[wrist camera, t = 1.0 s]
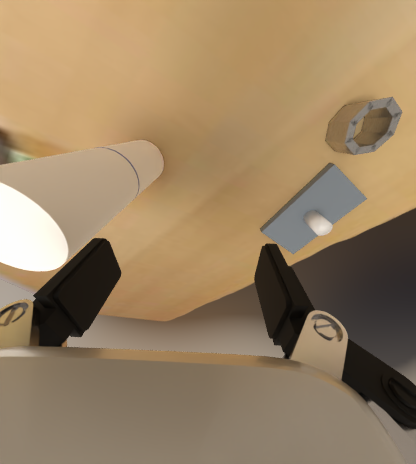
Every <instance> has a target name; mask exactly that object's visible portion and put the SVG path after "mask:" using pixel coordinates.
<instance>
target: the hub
mask: <svg viewBox="0 0 416 464" xmlns="http://www.w3.org/2000/svg"><path fill="white" fill-rule="evenodd" d="M401 114H402V110H401V109H400V107H399V106H398V104H397V103H396V101H395V100H394V98H393V97H389V98H383V99H377V100H371V101H365V102H360V103H355V104H350V105H345V106H344V107H343V108H342V109H341V110H340V111H339V112H338V113H337V114H336V115H335V116H334V117H333V118H332V120H331V121H330V122H329V124H328V129H327V135H326V140H325V141H326V142H327V143H328V144H329V145H330V146H331V148H332V149H333V150H334V151H338V152H343V153H347V154H352V155H357V154H363V153H369V152H374V151H375V150H377V149H378V148H379V147H380V146H381V145H382V144H384V143H385V142H386V141H387V140H388V139H389V138H390V137H392V136H393V135H394V132H395V130H396V127H397V125H398V122H399V119H400V117H401ZM363 117H364V118H365V119H364V123H363V126H362V130H361V132H360V133H359V134H358V135H357V136H356V137H355V138H354V139H353V136H354V132H355V128H356V124H357V123H358V122H359V121H360V120H361V119H362V118H363Z"/></svg>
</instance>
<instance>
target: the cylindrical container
mask: <svg viewBox="0 0 416 464" xmlns="http://www.w3.org/2000/svg"><path fill="white" fill-rule="evenodd" d="M163 168H164V160H163V156H162V154H161V152H160V150H159V149H158V148H157V147H156V146H155V145H154V144H152V143H151V142H149V141H146V140H136V141H131V142H125V143H120V144H114V145H109V146H103V147H97V148H92V149H86V150H81V151H76V152H70V153H65V154H59V155H54V156H48V157H43V158H37V159H32V160H26V161H21V162H15V163H9V164H4V165H0V262H2V263H4V264H7V265H10V266H13V267H16V268H20V269H24V270H31V271H49V270H54V269H56V268H58V267H60V266H61V265H62V264H64V263H65V262H66V261H67V260H68V259H69V258H70V257H71V256H72V255H74V254H75V253H76V252H77V251H78V250H79V249H80V248H81V247H82V246H83V245H84V244H86V243H87V242H88V241H89V240H90V239H91V238H92V237H93V236H94V235H95V234H97V233H98V232H99V231H100V230H101V229H102V228H103V227H104V226H105V225H106V224H107V223H109V222H110V221H111V220H112V219H113V218H114V217H115V216H116V215H117V214H118V213H119V212H121V211H122V210H123V209H124V208H125V207H126V206H127V205H128V204H129V203H130V202H131V201H133V200H134V199H135V198H136V197H137V196H138V195H139V194H140V193H141V192H142V191H143V190H145V189H146V188H147V187H148V186H149V185H150V184H151V183H152V182H153V181H154V180H155V179H157V178H158V177H159V176H160V175H161V173H162V171H163Z"/></svg>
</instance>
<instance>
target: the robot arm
mask: <svg viewBox="0 0 416 464" xmlns="http://www.w3.org/2000/svg"><path fill="white" fill-rule="evenodd" d="M120 277H121V270H120V267H119V265H118V262H117V260H116V257H115V255H114V252H113V250H112V247H111V245H110V242H109V241H107V240H106V239H104V238H94V239H92V240H91V241H90V242H89V243H88V244H87V245H86V246H85V247H84V248H83V249H82V250H81V251H80V252H79V253H78V254H77V255H76V256H75V257H73V258H72V259H71V260H70V261H69V262H68V263H67V264H66V265H65V266H64V267H63V268H62V269H61V270H60V271H59V272H58V273H57V274H56V275H54V276H53V277H52V278H51V279H50V280H49V281H48V282H47V283H46V284H45V285H44V286H43V287H42V288H41V289H40V290H39V291H38V292H37V293H35V294H34V295H33V296H34V297H35V298H36V299H35V300H34V301H33V302H32V301H31V300H27V299H24V300H19V301H16V302H13V303H11V304H8V305H6V306H5V307H3V308H1V309H0V464H416V386H415V385H414V384H413V383H412V382H411V381H410V380H409V379H407V378H406V377H405V376H403V375H402V374H400V373H399V372H397V371H396V370H394V369H393V368H391V367H390V366H388V365H387V364H385V363H384V362H382V361H381V360H379V359H378V358H376V357H375V356H373V355H372V354H370V353H369V352H367V351H366V350H364V349H363V348H361V347H360V346H358V345H357V344H355V343H354V342H352V341H351V340H350V339H348V336H347V332H346V330H345V328H344V327H343V326H342V324H341V323H340V322H339V321H338V320H337V319H336V318H334V317H333V316H332V315H330V314H328V313H326V312H323V311H315V309H314V307H313V305H312V304H311V302H310V300H309V298H308V296H307V294H306V293H305V291H304V289H303V287H302V285H301V283H300V282H299V280H298V278H297V276H296V275H295V272H294V270H293V269H292V268H291V267H290V266H288V265H287V263H286V261H285V259H284V257H283V255H282V253H281V252H280V250H279V248H278V246H277V244H265V246H262V249H261V253H260V257H259V261H258V265H257V269H256V272H255V277H254V280H255V285H256V289H257V293H258V297H259V300H260V304H261V308H262V312H263V316H264V319H265V324H266V327H267V332H268V335H269V337H270V338H272V339H273V342H274V345H281V347H282V350H283V352H284V353H285V354H284V356H283V358H275V357H266V356H251V355H236V354H217V353H197V352H176V351H153V350H130V349H105V348H104V349H103V348H78V347H67V338H68V337H69V335H70V336H71V337H82V335H83V333H84V332H85V331H86V330H87V329H89V327H90V326H91V324H92V322H93V321H94V319H95V317H96V316H97V314H98V313H99V311H100V309H101V308H102V306H103V305H104V303H105V301H106V300H107V298H108V296H109V295H110V293H111V291H112V290H113V288H114V287H115V285H116V283H117V282H118V280H119V278H120Z"/></svg>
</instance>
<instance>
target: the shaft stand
mask: <svg viewBox="0 0 416 464" xmlns="http://www.w3.org/2000/svg"><path fill="white" fill-rule="evenodd" d="M366 199H367V198H366V197H365V196H364V195H363V194H362V193H361V192H360V191H359V190H358V189H357V188H356V187H355V186H354V184H353V183H352V182H351V181H350V180H349V179H348V178H347V177H346V176H345V175H344V174H343V173H342V172H341V171H340V170H339V169H338V168H337V167H336V165H334V164H331V163H329V164H328V165H327V166H326V167H325V168H324V169H323V170H322V171H321V172H320V173H318V174H317V175H316V176H315V177H314V178H313V179H312V180H311V181H310V182H309V183H308V184H307V185H306V186H305V187H304V188H303V189H302V190H301V191H299V192H298V193H297V194H296V195H295V196H294V197H293V198H292V199H291V200H290V201H289V202H288V203H287V204H286V205H285V206H284V207H283V208H282V209H280V210H279V211H278V212H277V213H276V214H275V215H274V216H273V217H272V218H271V219H270V220H269V221H268V222H267V223H266V224H265V225H264V226H263V227H262V228H260V230H261V232H262V233H263V234H265V235H266V236H268V237H269V238H271V239H272V240H274V241H275V242H276V243H278V244H279V245H281V246H282V247H284V248H285V249H287V250H288V251H289V252H291V253H292V254H294V253H296V252H297V251H298V250H300V249H301V248H302V247H304V246H305V245H306V244H308V243H309V242H310V241H311V240H313V239H314V238H315V237H317V236H318V235H326V234H328V233H329V232H330V231H331V230H332V227H333V226H332V225H333V224H334V223H335V222H337V221H338V220H339V219H341V218H342V217H343V216H345V215H346V214H347V213H349V212H350V211H351V210H353V209H354V208H355V207H357V206H358V205H359V204H361V203H362V202H363V201H365V200H366Z"/></svg>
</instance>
